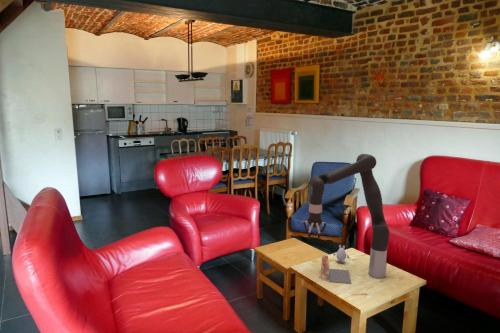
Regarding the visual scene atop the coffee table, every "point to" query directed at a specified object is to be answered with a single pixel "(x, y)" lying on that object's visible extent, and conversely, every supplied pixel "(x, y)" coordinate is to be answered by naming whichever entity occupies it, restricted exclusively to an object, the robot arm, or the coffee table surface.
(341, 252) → the toy figure
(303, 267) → the coffee table surface
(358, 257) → the coffee table surface
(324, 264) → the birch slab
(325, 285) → the coffee table surface
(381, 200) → the robot arm
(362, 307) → the coffee table surface
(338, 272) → the felt mat
